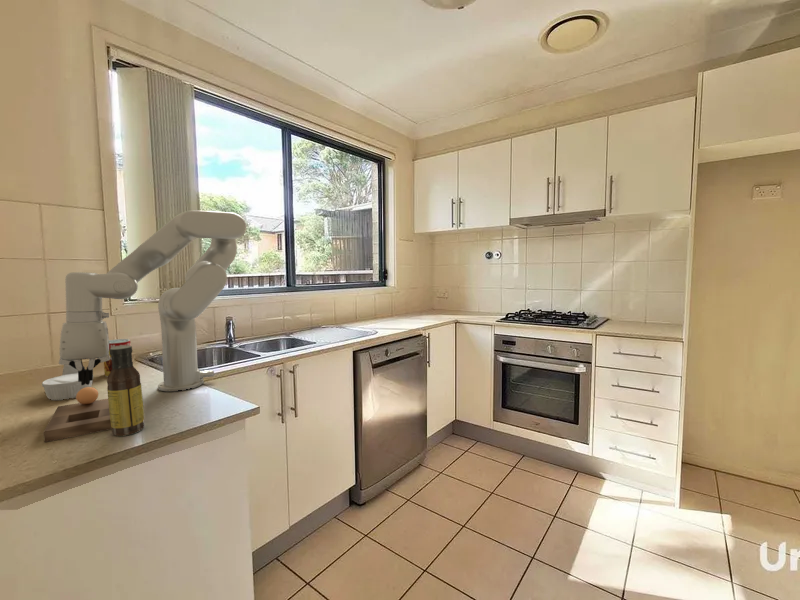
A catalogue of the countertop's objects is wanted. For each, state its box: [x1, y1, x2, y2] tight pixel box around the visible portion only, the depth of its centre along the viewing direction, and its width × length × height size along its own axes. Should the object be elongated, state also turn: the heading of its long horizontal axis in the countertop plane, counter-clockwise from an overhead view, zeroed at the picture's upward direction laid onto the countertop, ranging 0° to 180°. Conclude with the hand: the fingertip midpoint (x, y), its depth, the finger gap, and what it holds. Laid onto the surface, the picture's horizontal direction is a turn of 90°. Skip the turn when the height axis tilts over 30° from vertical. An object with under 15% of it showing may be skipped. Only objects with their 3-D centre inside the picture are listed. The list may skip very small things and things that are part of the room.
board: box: [43, 398, 112, 443], centre depth 90 cm, size 14×18×2 cm
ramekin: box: [41, 373, 93, 401], centre depth 108 cm, size 11×11×5 cm
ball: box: [75, 386, 99, 404], centre depth 95 cm, size 4×4×4 cm
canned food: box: [103, 338, 132, 377], centre depth 131 cm, size 8×8×12 cm
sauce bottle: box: [106, 345, 145, 437], centre depth 83 cm, size 6×6×20 cm
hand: (85, 383), depth 100 cm, fingers closed
